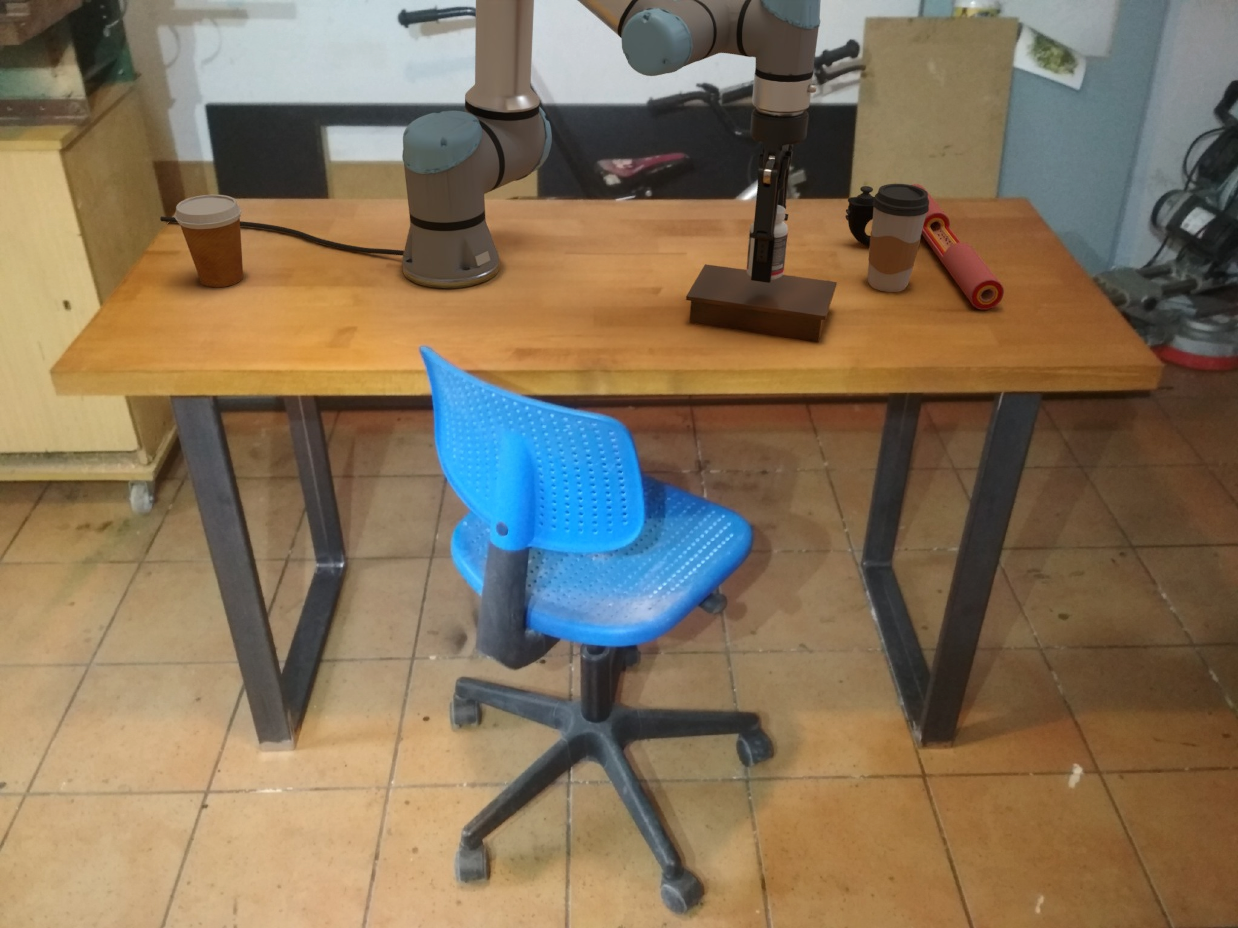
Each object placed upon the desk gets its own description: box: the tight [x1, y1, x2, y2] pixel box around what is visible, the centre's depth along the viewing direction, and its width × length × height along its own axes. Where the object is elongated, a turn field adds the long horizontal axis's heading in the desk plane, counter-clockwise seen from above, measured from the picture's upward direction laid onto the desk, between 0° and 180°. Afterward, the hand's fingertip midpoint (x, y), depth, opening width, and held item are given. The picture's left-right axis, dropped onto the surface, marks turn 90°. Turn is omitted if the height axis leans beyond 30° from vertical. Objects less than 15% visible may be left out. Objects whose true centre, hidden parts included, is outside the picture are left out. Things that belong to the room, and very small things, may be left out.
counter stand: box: [685, 263, 838, 343], centre depth 156 cm, size 20×12×4 cm, turn 73°
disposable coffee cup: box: [174, 194, 244, 288], centre depth 162 cm, size 10×10×12 cm
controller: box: [844, 185, 875, 247], centre depth 178 cm, size 4×12×10 cm, turn 95°
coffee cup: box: [866, 183, 929, 293], centre depth 163 cm, size 8×8×15 cm
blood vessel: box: [911, 183, 1005, 311], centre depth 176 cm, size 42×5×5 cm, turn 2°
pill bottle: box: [746, 205, 789, 280], centre depth 151 cm, size 5×5×10 cm
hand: (764, 272), depth 153 cm, fingers closed on pill bottle, 5 cm apart
